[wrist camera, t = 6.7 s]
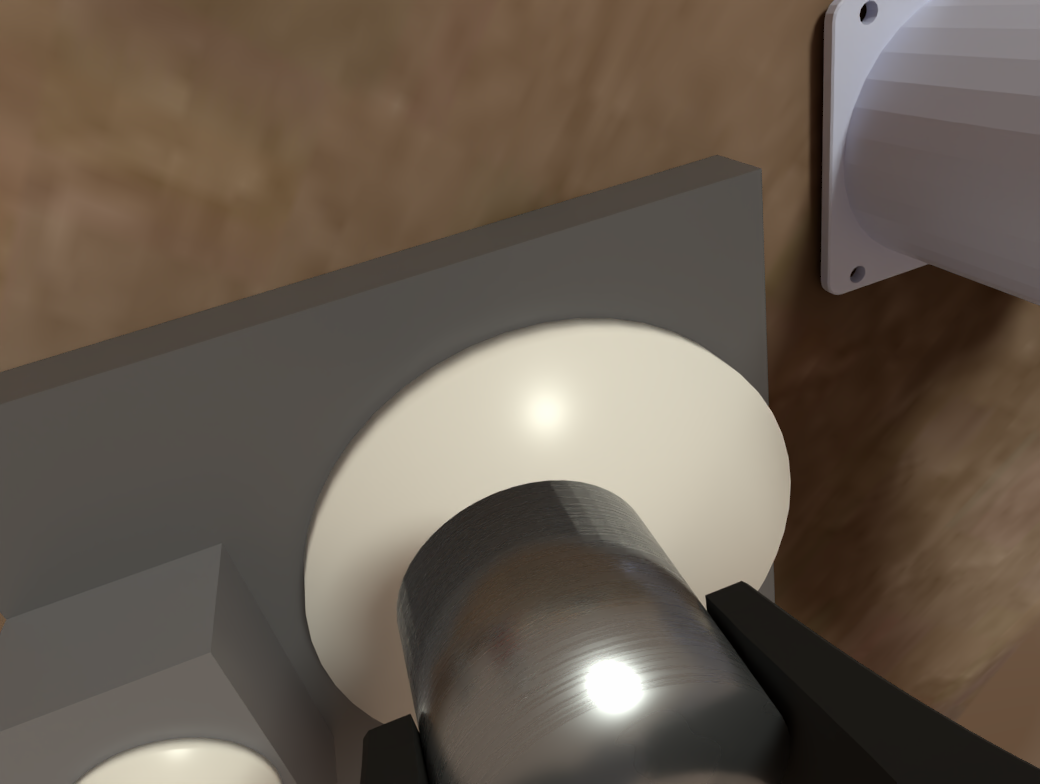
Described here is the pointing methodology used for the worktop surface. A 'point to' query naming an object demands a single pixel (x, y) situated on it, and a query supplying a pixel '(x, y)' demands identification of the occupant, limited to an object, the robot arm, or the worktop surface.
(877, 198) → the robot arm
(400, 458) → the kitchen scale
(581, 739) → the cylinder
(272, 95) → the worktop surface
